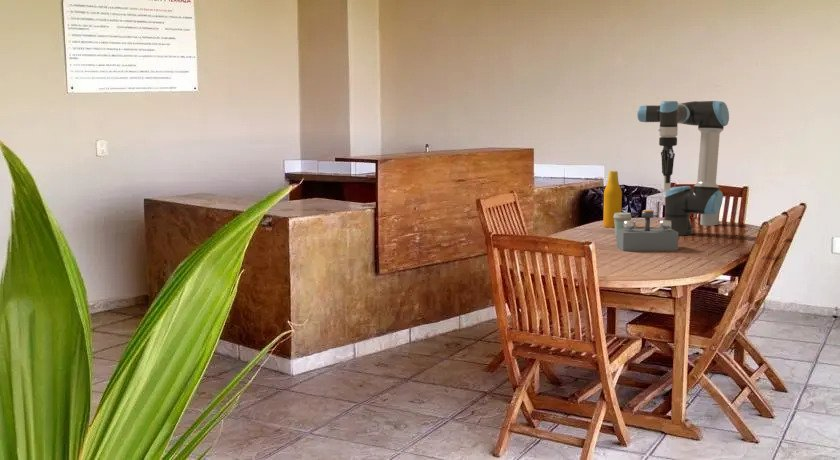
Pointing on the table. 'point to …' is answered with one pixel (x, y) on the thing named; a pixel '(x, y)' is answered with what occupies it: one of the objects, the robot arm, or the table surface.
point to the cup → (709, 219)
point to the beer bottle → (612, 199)
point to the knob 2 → (665, 224)
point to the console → (647, 240)
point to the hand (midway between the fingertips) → (666, 190)
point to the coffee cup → (621, 220)
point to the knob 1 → (629, 225)
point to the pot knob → (647, 218)
